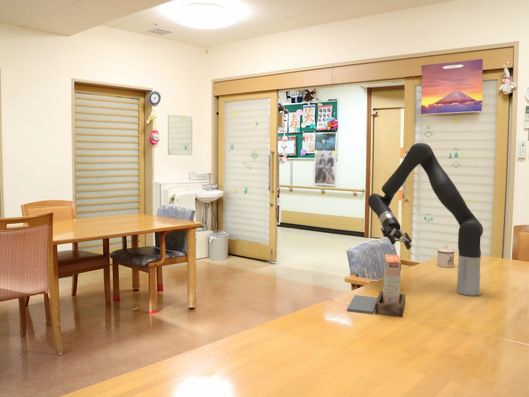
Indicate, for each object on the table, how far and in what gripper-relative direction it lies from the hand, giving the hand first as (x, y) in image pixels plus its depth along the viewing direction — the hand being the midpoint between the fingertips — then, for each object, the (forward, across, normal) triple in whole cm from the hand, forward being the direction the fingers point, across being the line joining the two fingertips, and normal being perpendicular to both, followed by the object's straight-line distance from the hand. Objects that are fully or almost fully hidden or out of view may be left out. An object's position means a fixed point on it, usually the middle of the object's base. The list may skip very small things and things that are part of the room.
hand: (401, 245), depth 215 cm
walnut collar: (+26, -8, +14) cm, 31 cm away
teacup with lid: (-33, +64, +23) cm, 76 cm away
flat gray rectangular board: (+22, -16, +20) cm, 34 cm away
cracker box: (+27, -8, +14) cm, 31 cm away
